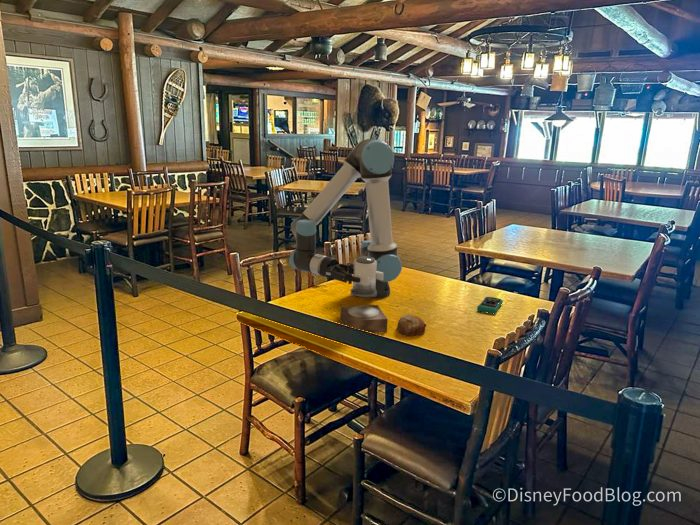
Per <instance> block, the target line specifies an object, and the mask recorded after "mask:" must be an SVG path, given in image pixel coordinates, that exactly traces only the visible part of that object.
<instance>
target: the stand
mask: <svg viewBox="0 0 700 525" xmlns="http://www.w3.org/2000/svg"><path fill="white" fill-rule="evenodd" d="M339 318H340V321H341V323H343V324H344V325H347V326H349V327H353V328H356V329H360V330H364V331H368V332H372V333H371V334H375V332H377V333H376V334H379V332H384V333H387V332H388V317H387V316H386V315H385V313H384V311H383V310H382V309H381V307H380V305H378V304H373V305H372V304H370V305H368V304H366V305H343V306H340V316H339ZM343 324H342V325H343Z"/></svg>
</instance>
